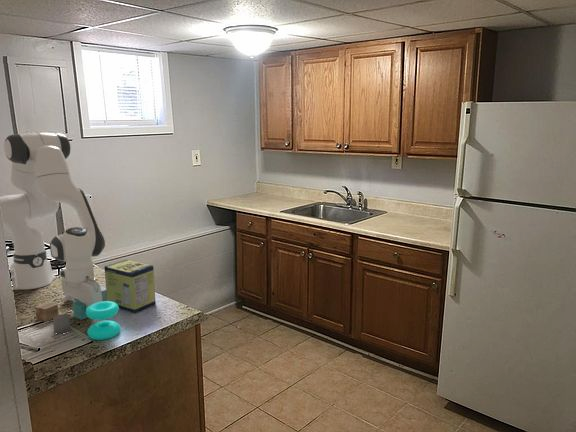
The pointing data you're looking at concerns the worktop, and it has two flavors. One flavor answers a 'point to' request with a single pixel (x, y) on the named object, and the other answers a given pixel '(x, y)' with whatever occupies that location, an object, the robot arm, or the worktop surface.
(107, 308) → the donuts
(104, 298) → the slate blue block
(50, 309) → the walnut block
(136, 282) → the protein box
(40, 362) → the worktop surface
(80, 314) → the teal block
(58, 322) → the charcoal cylinder
